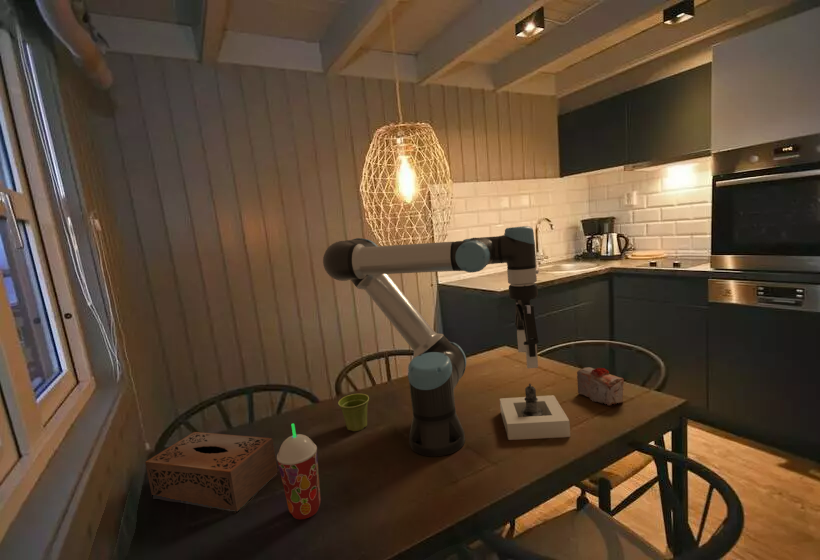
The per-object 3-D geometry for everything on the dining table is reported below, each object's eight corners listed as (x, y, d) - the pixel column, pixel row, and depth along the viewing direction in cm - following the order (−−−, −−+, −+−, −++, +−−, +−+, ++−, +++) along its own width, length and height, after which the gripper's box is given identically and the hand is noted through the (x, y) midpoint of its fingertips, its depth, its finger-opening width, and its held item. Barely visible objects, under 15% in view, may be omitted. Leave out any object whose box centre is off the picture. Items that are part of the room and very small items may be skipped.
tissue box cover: (278, 474, 104) (272, 438, 103) (237, 513, 90) (230, 472, 89) (200, 465, 112) (194, 431, 111) (152, 500, 99) (145, 461, 98)
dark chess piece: (541, 418, 118) (538, 378, 116) (545, 428, 112) (543, 386, 110) (520, 419, 118) (517, 380, 117) (524, 429, 113) (520, 388, 111)
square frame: (508, 439, 108) (507, 424, 108) (500, 412, 124) (499, 398, 123) (570, 436, 106) (569, 420, 106) (554, 409, 122) (553, 395, 122)
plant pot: (375, 430, 121) (371, 402, 120) (343, 437, 119) (339, 409, 118) (369, 416, 130) (366, 391, 129) (340, 423, 128) (336, 397, 127)
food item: (629, 403, 121) (627, 371, 120) (610, 410, 118) (608, 378, 117) (591, 388, 134) (590, 360, 133) (573, 395, 131) (572, 365, 129)
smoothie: (328, 496, 93) (316, 413, 90) (321, 522, 84) (308, 431, 82) (291, 500, 93) (278, 417, 90) (281, 526, 84) (266, 436, 82)
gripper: (547, 289, 97) (552, 374, 100) (528, 276, 122) (532, 345, 125) (516, 292, 98) (521, 376, 101) (502, 278, 123) (507, 346, 126)
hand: (527, 359), depth 113 cm, fingers open, 13 cm apart
